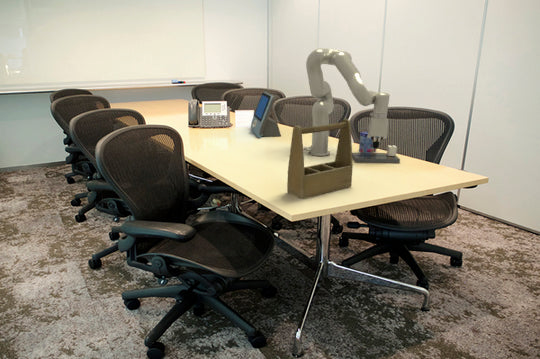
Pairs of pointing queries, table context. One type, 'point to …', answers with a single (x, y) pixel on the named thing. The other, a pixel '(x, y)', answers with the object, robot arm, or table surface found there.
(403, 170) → the table surface
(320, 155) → the robot arm
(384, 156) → the panel
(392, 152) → the fader
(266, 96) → the touchscreen device
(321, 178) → the caddy
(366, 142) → the ink cartridge box
